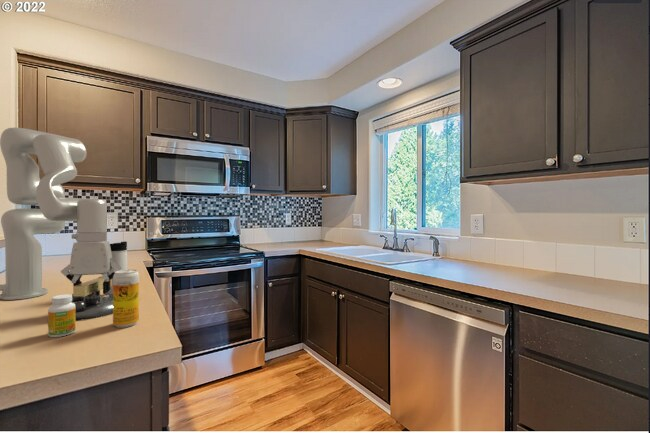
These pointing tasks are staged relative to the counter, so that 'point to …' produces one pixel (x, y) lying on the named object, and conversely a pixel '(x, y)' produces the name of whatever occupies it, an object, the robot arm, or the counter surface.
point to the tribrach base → (92, 307)
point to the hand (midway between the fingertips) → (92, 293)
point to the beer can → (125, 298)
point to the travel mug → (118, 259)
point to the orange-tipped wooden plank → (90, 290)
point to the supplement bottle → (61, 316)
